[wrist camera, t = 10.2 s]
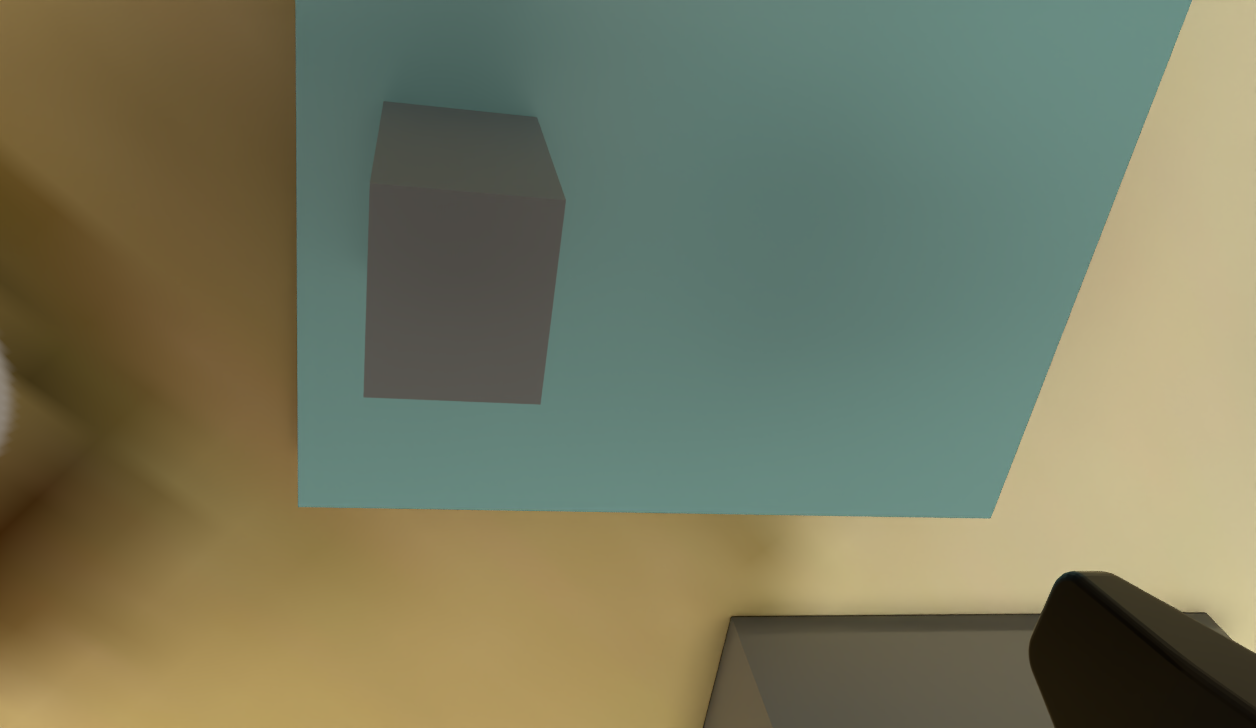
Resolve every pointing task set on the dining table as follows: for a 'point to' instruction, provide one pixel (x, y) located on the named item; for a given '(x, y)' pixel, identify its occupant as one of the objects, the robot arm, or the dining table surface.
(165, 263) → the dining table surface
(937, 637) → the parts tub
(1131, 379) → the dining table surface
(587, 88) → the lid
